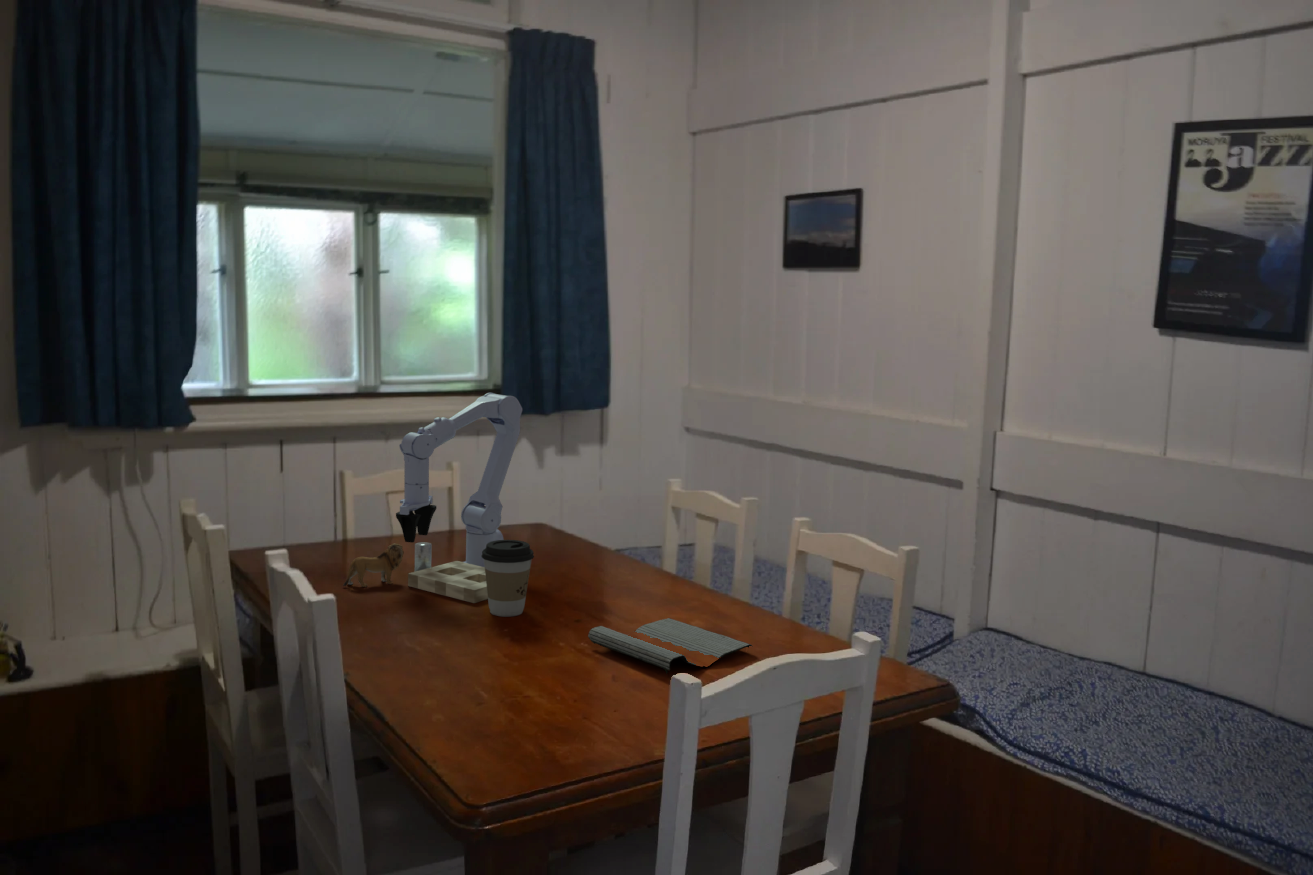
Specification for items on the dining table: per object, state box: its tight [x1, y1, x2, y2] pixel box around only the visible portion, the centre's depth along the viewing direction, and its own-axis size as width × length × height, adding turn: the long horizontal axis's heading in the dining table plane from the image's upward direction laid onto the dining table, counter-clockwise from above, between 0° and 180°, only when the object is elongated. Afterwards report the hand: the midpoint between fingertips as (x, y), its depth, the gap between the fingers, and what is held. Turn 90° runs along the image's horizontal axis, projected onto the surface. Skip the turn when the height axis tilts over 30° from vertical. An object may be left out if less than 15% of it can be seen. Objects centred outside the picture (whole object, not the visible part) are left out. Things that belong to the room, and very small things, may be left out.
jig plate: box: [407, 560, 488, 604], centre depth 236 cm, size 16×21×3 cm
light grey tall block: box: [414, 542, 433, 572], centre depth 248 cm, size 4×4×7 cm
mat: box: [587, 617, 753, 674], centre depth 198 cm, size 23×24×5 cm
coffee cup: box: [481, 539, 535, 618], centre depth 218 cm, size 11×11×15 cm
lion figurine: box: [342, 543, 404, 588], centre depth 236 cm, size 15×5×9 cm, turn 129°
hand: (416, 538), depth 242 cm, fingers open, 7 cm apart
